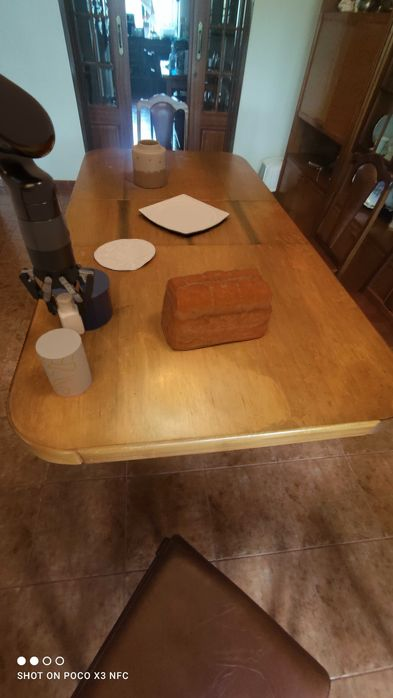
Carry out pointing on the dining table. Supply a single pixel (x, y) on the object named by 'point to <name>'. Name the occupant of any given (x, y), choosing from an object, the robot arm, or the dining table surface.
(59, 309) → the salt shaker
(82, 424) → the dining table surface
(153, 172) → the vase
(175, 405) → the dining table surface
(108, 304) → the pot
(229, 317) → the bread
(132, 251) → the plaque
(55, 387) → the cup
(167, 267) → the dining table surface
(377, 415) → the dining table surface
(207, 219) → the plate
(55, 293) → the pot lid
